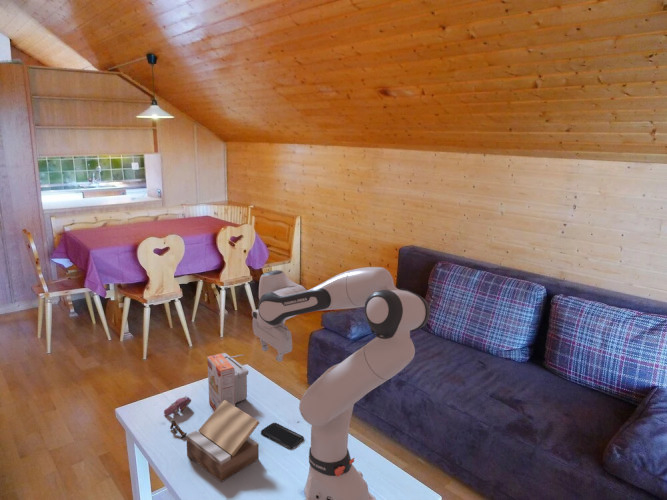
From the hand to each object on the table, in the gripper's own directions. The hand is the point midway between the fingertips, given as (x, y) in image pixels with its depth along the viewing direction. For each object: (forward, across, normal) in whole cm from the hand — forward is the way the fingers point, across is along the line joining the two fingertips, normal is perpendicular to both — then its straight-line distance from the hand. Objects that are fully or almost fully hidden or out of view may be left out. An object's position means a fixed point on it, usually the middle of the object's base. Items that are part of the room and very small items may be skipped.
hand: (272, 355), depth 165 cm
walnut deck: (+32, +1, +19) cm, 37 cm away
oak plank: (+23, +1, +16) cm, 28 cm away
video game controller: (+33, +35, +21) cm, 52 cm away
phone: (+33, -1, -4) cm, 33 cm away
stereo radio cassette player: (+33, +37, -1) cm, 50 cm away
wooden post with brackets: (+33, +22, +26) cm, 47 cm away
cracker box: (+33, +26, +7) cm, 43 cm away
